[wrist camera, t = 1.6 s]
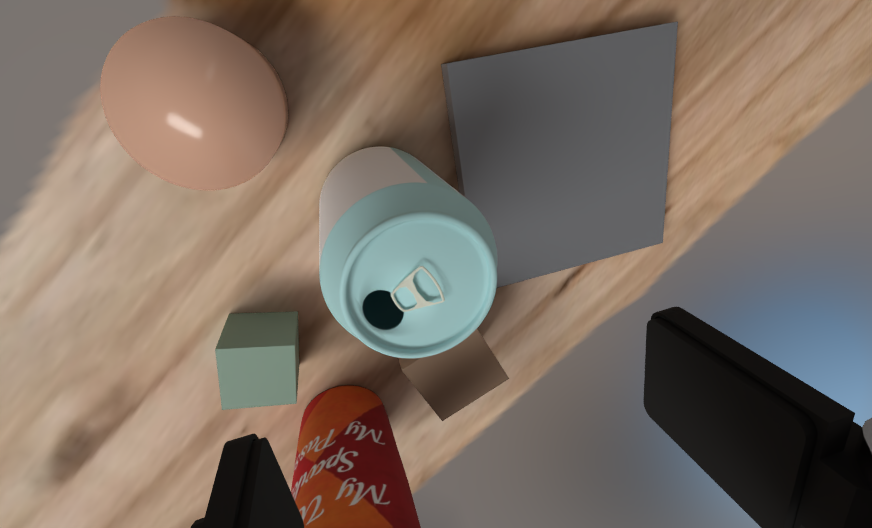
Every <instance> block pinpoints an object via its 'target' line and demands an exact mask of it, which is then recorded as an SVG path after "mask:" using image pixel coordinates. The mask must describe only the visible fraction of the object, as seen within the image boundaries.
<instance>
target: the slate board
mask: <svg viewBox="0 0 872 528" xmlns="http://www.w3.org/2000/svg"><path fill="white" fill-rule="evenodd" d="M677 25H678V22H672V23H666V24H660V25H655V26H649V27H644V28H638V29H633V30H627V31H622V32H616V33H611V34H605V35H600V36H594V37H589V38H583V39H578V40H572V41H567V42H561V43H556V44H550V45H545V46H539V47H534V48H528V49H523V50H517V51H512V52H506V53H501V54H495V55H490V56H484V57H478V58H473V59H467V60H462V61H456V62H451V63H445V64H441V67H442V74H443V81H444V88H445V95H446V102H447V109H448V116H449V123H450V130H451V137H452V144H453V151H454V158H455V165H456V172H457V179H458V186H459V193H460V194H462V195H463V196H464V197H465V198H467V199H468V200H469V201H470V202H471V203H473V204H474V205H475V206H476V207H477V208H478V210H479V211H480V212H481V213H482V215H483V216H484V217H485V219H486V221H487V222H488V224H489V226H490V228H491V230H492V233H493V236H494V239H495V244H496V248H497V288H498V287H502V286H505V285H509V284H513V283H516V282H520V281H524V280H527V279H531V278H535V277H538V276H542V275H546V274H550V273H553V272H557V271H561V270H564V269H568V268H572V267H575V266H579V265H583V264H586V263H590V262H594V261H597V260H601V259H605V258H608V257H612V256H616V255H619V254H623V253H627V252H631V251H634V250H638V249H642V248H645V247H649V246H653V245H656V244H660V243H663V231H664V216H665V202H666V187H667V172H668V157H669V143H670V128H671V113H672V98H673V84H674V69H675V54H676V40H677Z"/></svg>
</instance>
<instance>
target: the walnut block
mask: <svg viewBox="0 0 872 528" xmlns="http://www.w3.org/2000/svg"><path fill="white" fill-rule="evenodd" d="M398 359H399V363H400V366H401V370H402V371H403V373H404V374H405V375H406V376H407V378H408V379H409V380H410V381H411V383H412V384H413V385H414V386H415V388H416V389H417V390H418V391H419V393H420V394H421V395H422V396H423V398H424V399H425V400H426V401H427V403H428V404H429V405H430V406H431V408H432V409H433V410H434V411H435V413H436V414H437V415H438V416H439V418H440V419H441V420H442V421H443V420H445V419H446V418H448V417H450V416H451V415H453V414H454V413H456V412H457V411H459V410H461V409H462V408H464V407H465V406H467V405H468V404H470V403H472V402H473V401H475V400H476V399H478V398H479V397H481V396H482V395H484V394H486V393H487V392H489V391H490V390H492V389H493V388H495V387H497V386H498V385H500V384H501V383H503V382H504V381H506V380H508V379H509V378H508V376H507V375H506V373H505V372H504V370H503V368H502V367H501V365H500V364H499V362H498V361H497V359H496V357H495V356H494V354H493V353H492V351H491V350H490V348H489V346H488V345H487V343H486V342H485V340H484V339H483V337H482V335H481V334H480V332H479V331H478V329H476V330H475V331H474V332H473V333H472V334H471V335H470V336H469V337H467V338H466V339H465V340H464V341H462V342H461V343H459V344H458V345H456V346H454V347H452V348H451V349H448V350H446V351H444V352H441V353H439V354H436V355H432V356H428V357H422V358H398Z"/></svg>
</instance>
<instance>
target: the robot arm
mask: <svg viewBox="0 0 872 528" xmlns="http://www.w3.org/2000/svg"><path fill="white" fill-rule="evenodd" d="M644 407H645V409H646V412H647V413H648V415H649V416H650V417H651V418H652V419H653V420H654V421H655V422H656V423H657V424H658V425H659V426H660V427H661V428H662V429H663V430H664V431H665V432H666V433H667V434H668V435H669V436H670V437H671V438H672V439H673V440H674V441H675V442H676V443H677V444H678V445H679V446H680V447H681V448H682V449H683V450H684V451H685V452H686V453H687V454H688V455H689V456H690V457H691V458H692V459H693V460H694V461H695V462H696V463H697V464H698V465H699V466H700V467H701V468H702V469H703V470H704V471H705V472H706V473H707V474H708V475H709V476H710V477H711V478H712V479H713V480H714V481H715V482H716V483H717V484H718V485H719V486H720V487H721V488H722V489H723V490H724V491H725V492H726V493H727V494H728V495H729V496H730V497H731V498H732V499H733V500H734V501H735V502H736V503H737V504H738V505H739V506H740V507H741V508H742V509H743V510H744V511H745V512H746V513H747V514H748V515H749V516H750V517H751V518H752V519H753V520H754V521H755V522H756V523H757V524H758V525H759V526H760V527H761V528H872V418H871V419H869V420H867V421H865V423H864V425H863V427H861V426H859V425H858V424H856V423H854V422H853V418H854V415H855V413H854V412H852V411H851V410H849V409H847V408H846V407H844V406H842V405H840V404H839V403H837V402H836V401H834V400H832V399H831V398H829V397H827V396H826V395H824V394H822V393H821V392H819V391H817V390H816V389H814V388H813V387H811V386H809V385H808V384H806V383H804V382H803V381H801V380H799V379H798V378H796V377H794V376H793V375H791V374H789V373H788V372H786V371H784V370H783V369H781V368H779V367H778V366H776V365H774V364H773V363H771V362H769V361H768V360H766V359H765V358H763V357H761V356H760V355H758V354H756V353H755V352H753V351H751V350H750V349H748V348H746V347H745V346H743V345H741V344H740V343H738V342H736V341H735V340H733V339H732V338H730V337H728V336H727V335H725V334H723V333H722V332H720V331H718V330H717V329H715V328H713V327H712V326H710V325H708V324H707V323H705V322H703V321H702V320H700V319H699V318H697V317H695V316H694V315H692V314H690V313H688V312H687V311H685V310H684V309H682V308H680V307H672V308H669V309H666V310H662V311H659V312H656V313H654V314H653V315H652V316H651V320H650V321H648V323H647V334H646V359H645V384H644ZM191 528H304V522H303V519H302V516H301V514H300V512H299V509H298V507H297V505H296V503H295V500H294V498H293V496H292V494H291V491H290V489H289V487H288V485H287V482H286V480H285V478H284V475H283V473H282V471H281V469H280V466H279V464H278V462H277V460H276V457H275V455H274V453H273V451H272V448H271V446H270V444H269V442H268V440H267V439H266V438H261V439H259V438H258V437H257V435H256V434H251V435H247V436H244V437H241V438H237V439H234V440H231V441H227V442H226V443H225V445H224V448H223V451H222V455H221V459H220V462H219V466H218V470H217V474H216V477H215V481H214V485H213V488H212V492H211V496H210V500H209V503H208V507H207V511H206V515H205V517H204V518H201V519H199V520H196V521H195V522H194V523H193V525H192V526H191Z"/></svg>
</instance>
